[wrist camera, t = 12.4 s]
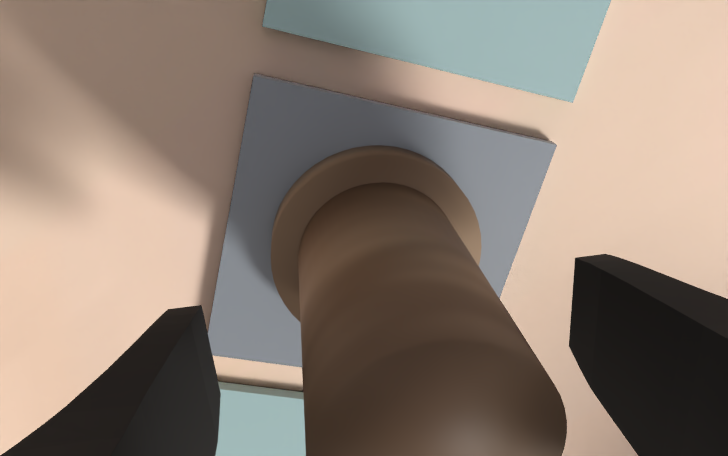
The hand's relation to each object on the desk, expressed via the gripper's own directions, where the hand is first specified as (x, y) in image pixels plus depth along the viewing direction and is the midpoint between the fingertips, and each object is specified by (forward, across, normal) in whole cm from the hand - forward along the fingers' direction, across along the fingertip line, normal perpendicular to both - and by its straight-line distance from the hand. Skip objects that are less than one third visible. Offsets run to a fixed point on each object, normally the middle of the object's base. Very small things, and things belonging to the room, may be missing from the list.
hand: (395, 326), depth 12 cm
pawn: (+3, 0, 0) cm, 3 cm away
